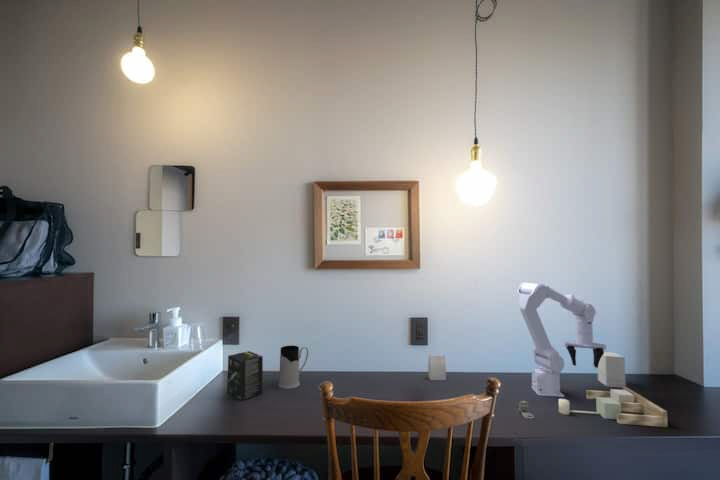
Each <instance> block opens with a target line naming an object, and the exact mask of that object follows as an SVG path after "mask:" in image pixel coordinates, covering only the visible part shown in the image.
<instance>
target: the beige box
mask: <svg viewBox="0 0 720 480" xmlns="http://www.w3.org/2000/svg"><path fill="white" fill-rule="evenodd" d="M445 356H446V355H440V354H439V355H435V354H434V355H431V354H429V356H428V371H427V372H428V373H427V375H428V377H427V378H428V379H429V381H446V380H447V373H446V372H447V371H446V370H447V369H446V368H447V367H446V366H447V365H446V357H445Z"/></svg>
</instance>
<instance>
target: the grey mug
mask: <svg viewBox="0 0 720 480" xmlns="http://www.w3.org/2000/svg"><path fill="white" fill-rule="evenodd" d="M304 349H305V350H306V356H305V360H304V363H303V364H302V366H301V368H300V359H301V357H302V356H301V355H302V351H303V350H304ZM279 355H280V356H279V381H278V385H277V386H278V388H280V389H284V390H285V389H286V390H288V389H290V390H292V389H295V388H298V387H299V386H300V380H299V379H300V373H301V372H302V370H303V369H304V367H305V365H306V364H307V360H308V357H309V349H308V348H307V347H306V346H303V347H302V348H301V349H300V347H299V346H298V345H284V346H282V347H280V354H279Z"/></svg>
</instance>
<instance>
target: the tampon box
mask: <svg viewBox="0 0 720 480" xmlns="http://www.w3.org/2000/svg"><path fill="white" fill-rule="evenodd" d="M263 358H264V357H263V355H260V354H258V353H255V352H252V351H249V350H248V351H244V352H239V353H235V354H230V355H228V358H227V385H226V387H227V391H226V393H227V394H228V395H229V396H231V397H232V398H234V399H235V400H237V401H240V402H241V401H245V400H247V399H251V398H254V397H257V396H260V395H262V394H263V392H264V391H263V377H264V376H263V373H264V372H263V371H264V370H263V369H264V368H263V366H264V365H263V364H264V361H263V360H264V359H263Z"/></svg>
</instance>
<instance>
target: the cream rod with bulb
mask: <svg viewBox="0 0 720 480" xmlns="http://www.w3.org/2000/svg"><path fill="white" fill-rule="evenodd" d="M595 401H596V403H595V404H596V406H595V407H596V411H585V410H570V400H568V399H566V398H558V412H559V414H562V415H570V413H581V414H582V413H583V414H593V415H594V414H596V415H597V414H598V415H599V416H601V417H602V418H603V419H606V420H617V413H622V411H621V404H620V403H618V402H617V401H616V400H614V399H613V398H604V397H596V399H595Z"/></svg>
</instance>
